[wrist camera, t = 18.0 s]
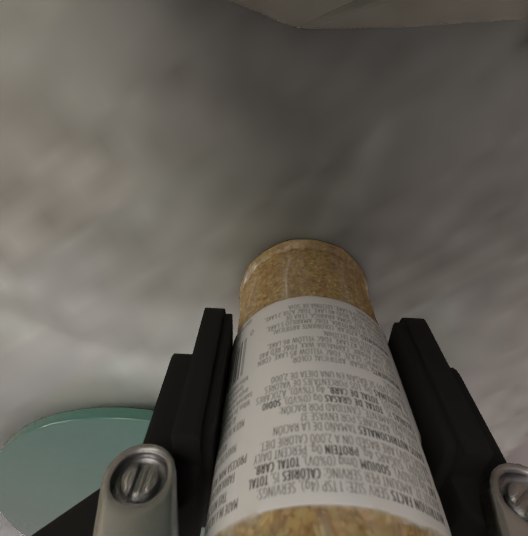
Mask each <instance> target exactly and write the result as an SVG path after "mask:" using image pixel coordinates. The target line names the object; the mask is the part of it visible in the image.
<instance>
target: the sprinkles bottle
mask: <svg viewBox="0 0 528 536" xmlns="http://www.w3.org/2000/svg"><path fill="white" fill-rule="evenodd" d="M239 291H240V293H239V299H240V307H241V311H240V318H239V327H238V334H237V336H236V338H235V341H234V343H233V347H232V353H231V360H230V366H229V373H228V381H227V386H226V393H225V400H224V407H223V413H222V420H221V427H220V434H219V441H218V448H217V455H216V462H215V468H214V475H213V481H212V487H211V494H210V500H209V507H208V514H207V520H206V527H205V534H204V536H452V535H451V532H450V528H449V525H448V522H447V519H446V516H445V513H444V510H443V507H442V504H441V501H440V498H439V495H438V493H437V490H436V487H435V484H434V481H433V478H432V475H431V472H430V469H429V466H428V463H427V460H426V457H425V454H424V452H423V449H422V446H421V442H422V441H421V436H420V433H419V430H418V427H417V425H416V422H415V419H414V416H413V413H412V410H411V407H410V405H409V402H408V399H407V396H406V393H405V391H404V388H403V385H402V382H401V379H400V377H399V374H398V371H397V368H396V365H395V363H394V360H393V357H392V354H391V351H390V349H389V346H388V343H387V340H386V338H385V335H384V334H383V332H382V330H381V329H380V327H379V325H378V322H377V320H376V318H375V315H374V312H373V308H372V305H371V303H370V300H369V297H368V296H369V290H368V285H367V282H366V278H365V275H364V273H363V272H362V270H361V267H360V266H359V265H358V263H357V262H356V261H355V260H354V259H353V258H352V257H351V256H350V255H349V254H348V253H347V252H346V251H344V250H343V249H342V248H340V247H337V246H335V245H331V244H328V243H326V242H323V241H318V240H311V239H299V240H288V241H286V242H282V243H279V244H277V245H275V246H273V247H271V248H270V249H268V250H265V251H264V252H262V253H261V254H260V255H259V256H258V257H257V258H255V259H254V261H253V262H252V263H251V264H250V265H249V266H248V268H247V271H246V273H245V274H244V276H243V279H242V284H241V286H240V290H239Z"/></svg>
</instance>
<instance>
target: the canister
mask: <svg viewBox="0 0 528 536" xmlns="http://www.w3.org/2000/svg"><path fill="white" fill-rule="evenodd" d="M229 1H232V2H234V3H237V4H239V5H241V6H244V7H246V8H249V9H251V10H253V11H255V12H258V13H260V14H263V15H266V16H268V17H270V18H273V19H275V20H278V21H280V22H282V23H285V24H287V25H290V26H292V27H294V28H297V27H299V28H300V29H330V28H387V27H414V26H429V25H443V24H457V23H471V22H486V21H500V20H514V19H528V0H229Z"/></svg>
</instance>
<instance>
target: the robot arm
mask: <svg viewBox="0 0 528 536" xmlns="http://www.w3.org/2000/svg"><path fill="white" fill-rule="evenodd" d="M388 346H389V349H390V351H391V354H392V357H393V360H394V363H395V365H396V368H397V371H398V374H399V377H400V379H401V382H402V385H403V388H404V391H405V393H406V396H407V399H408V402H409V405H410V407H411V410H412V413H413V416H414V419H415V422H416V425H417V427H418V430H419V433H420V436H421V441H422V442H421V446H422V449H423V452H424V454H425V457H426V460H427V463H428V466H429V469H430V472H431V475H432V478H433V481H434V484H435V487H436V490H437V493H438V495H439V498H440V501H441V504H442V507H443V510H444V513H445V516H446V519H447V522H448V525H449V528H450V532H451V535H452V536H528V467H526V466H523V465H520V464H514V463H507V462H506V460H505V459H504V457H503V455H502V453H501V451H500V449H499V447H498V445H497V444H496V442H495V440H494V438H493V436H492V434H491V432H490V430H489V429H488V427H487V425H486V423H485V421H484V419H483V417H482V415H481V414H480V412H479V410H478V408H477V406H476V404H475V402H474V400H473V399H472V397H471V395H470V393H469V391H468V389H467V387H466V385H465V384H464V382H463V380H462V378H461V376H460V374H459V373H458V372H457V370H455V369H454V368H450V367H449V365H448V363H447V361H446V359H445V357H444V355H443V353H442V352H441V350H440V348H439V346H438V344H437V342H436V340H435V338H434V336H433V334H432V332H431V330H430V328H429V326H428V324H427V322H426V321H425V320H424V319H419V318H402V319H401V320H400V322H399V323H394V325H393V328H392V331H391V335H390V338H389V342H388ZM232 347H233V320H232V314H226V312H225V309H221V308H205V310H204V314H203V317H202V321H201V325H200V328H199V332H198V336H197V340H196V343H195V347H194V351H193V354H173V356H172V358H171V360H170V363H169V366H168V369H167V372H166V375H165V379H164V382H163V385H162V388H161V391H160V394H159V397H158V400H157V403H156V406H155V409H154V412H153V415H152V418H151V421H150V424H149V427H148V430H147V433H146V436H145V439H144V442H143V444H140V445H137V446H133V447H130V448H128V449H127V450H125V451H123V452H121V453H120V454H119V455H118V456H117V457H116V458H115V459H114V460H112V461H111V463H110V465H109V466H108V468H107V469H106V471H105V473H104V476H103V479H102V482H101V488H100V489H98V490H97V491H95V492H94V493H92V494H91V495H89V496H88V497H87V498H85V499H84V500H82V501H81V502H79V503H78V504H76V505H75V506H73V507H72V508H71V509H69V510H68V511H66V512H65V513H63V514H62V515H60V516H59V517H57V518H56V519H55V520H53V521H52V522H50V523H49V524H47V525H46V526H44V527H43V528H41V529H40V530H39V531H37V532H36V533H34V534H33V535H31V536H200V534H201V528H202V527H204V528H205V527H206V520H207V514H208V507H209V500H210V494H211V487H212V481H213V475H214V468H215V462H216V455H217V448H218V441H219V434H220V427H221V420H222V413H223V407H224V400H225V393H226V386H227V381H228V373H229V366H230V360H231V353H232Z"/></svg>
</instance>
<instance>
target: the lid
mask: <svg viewBox="0 0 528 536" xmlns="http://www.w3.org/2000/svg"><path fill="white" fill-rule="evenodd" d="M153 412H154V410H148V409H137V408H126V407H98V408H87V409H77V410H72V411H67V412H62V413H57V414H54V415H51V416H48V417H45V418H42V419H39V420H37V421H35V422H33V423H31V424H29V425H27V426H25V427H24V428H22V429H21V430H19V431H18V432H16V433H15V434H14V435H12V436H11V437H10V439H9V440H8V441H7V442H6V443H5V444H4V445H3V446H2V448H1V449H0V512H1V513H2V514H3V516H4V517H5V518H6V519H7V520H8V521H9V522H10V523H11V524H12V525H13V526H14V527H15V528H16V529H18V530H19V531H20V532H21V533H23V534H24V535H25V536H31V535H33V534H34V533H36V532H37V531H39V530H40V529H41V528H43V527H44V526H46V525H47V524H49V523H50V522H52V521H53V520H55V519H56V518H57V517H59V516H60V515H62V514H63V513H65V512H66V511H68V510H69V509H71V508H72V507H73V506H75V505H76V504H78V503H79V502H81V501H82V500H84V499H85V498H87V497H88V496H89V495H91V494H92V493H94V492H95V491H97V490H98V489H100V488H101V482H102V479H103V476H104V473H105V471H106V469H107V468H108V466H109V465H110V463H111V461H112V460H114V459H115V458H116V457H117V456H118V455H119V454H120V453H121V452H123V451H125V450H127V449H128V448H130V447H133V446H137V445H140V444H143V442H144V439H145V436H146V433H147V430H148V427H149V424H150V421H151V418H152V415H153ZM204 534H205V528H204V527H202V528H201V534H200V536H204Z"/></svg>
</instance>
